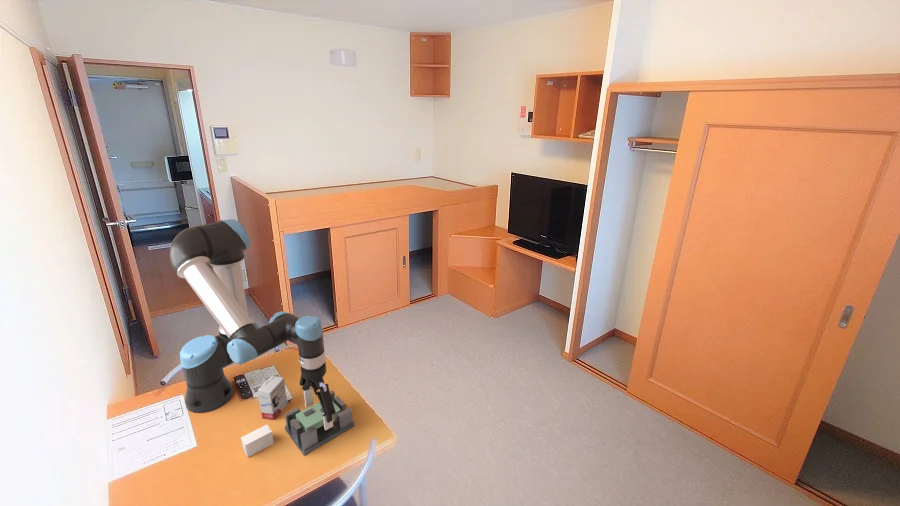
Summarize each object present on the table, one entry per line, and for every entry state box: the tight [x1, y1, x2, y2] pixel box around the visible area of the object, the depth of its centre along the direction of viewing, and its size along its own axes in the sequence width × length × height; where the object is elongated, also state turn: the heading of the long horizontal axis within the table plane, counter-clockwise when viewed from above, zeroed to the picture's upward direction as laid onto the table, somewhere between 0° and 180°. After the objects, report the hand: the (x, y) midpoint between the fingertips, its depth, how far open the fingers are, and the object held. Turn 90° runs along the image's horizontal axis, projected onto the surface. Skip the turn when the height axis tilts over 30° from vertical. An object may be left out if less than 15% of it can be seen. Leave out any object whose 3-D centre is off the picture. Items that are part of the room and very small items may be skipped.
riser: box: [240, 424, 275, 458], centre depth 126 cm, size 4×8×5 cm, turn 134°
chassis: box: [284, 389, 356, 457], centre depth 134 cm, size 14×18×7 cm
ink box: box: [257, 375, 288, 421], centre depth 140 cm, size 9×5×12 cm, turn 168°
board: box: [296, 401, 341, 431], centre depth 133 cm, size 8×12×3 cm, turn 134°
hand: (318, 416), depth 133 cm, fingers open, 13 cm apart
